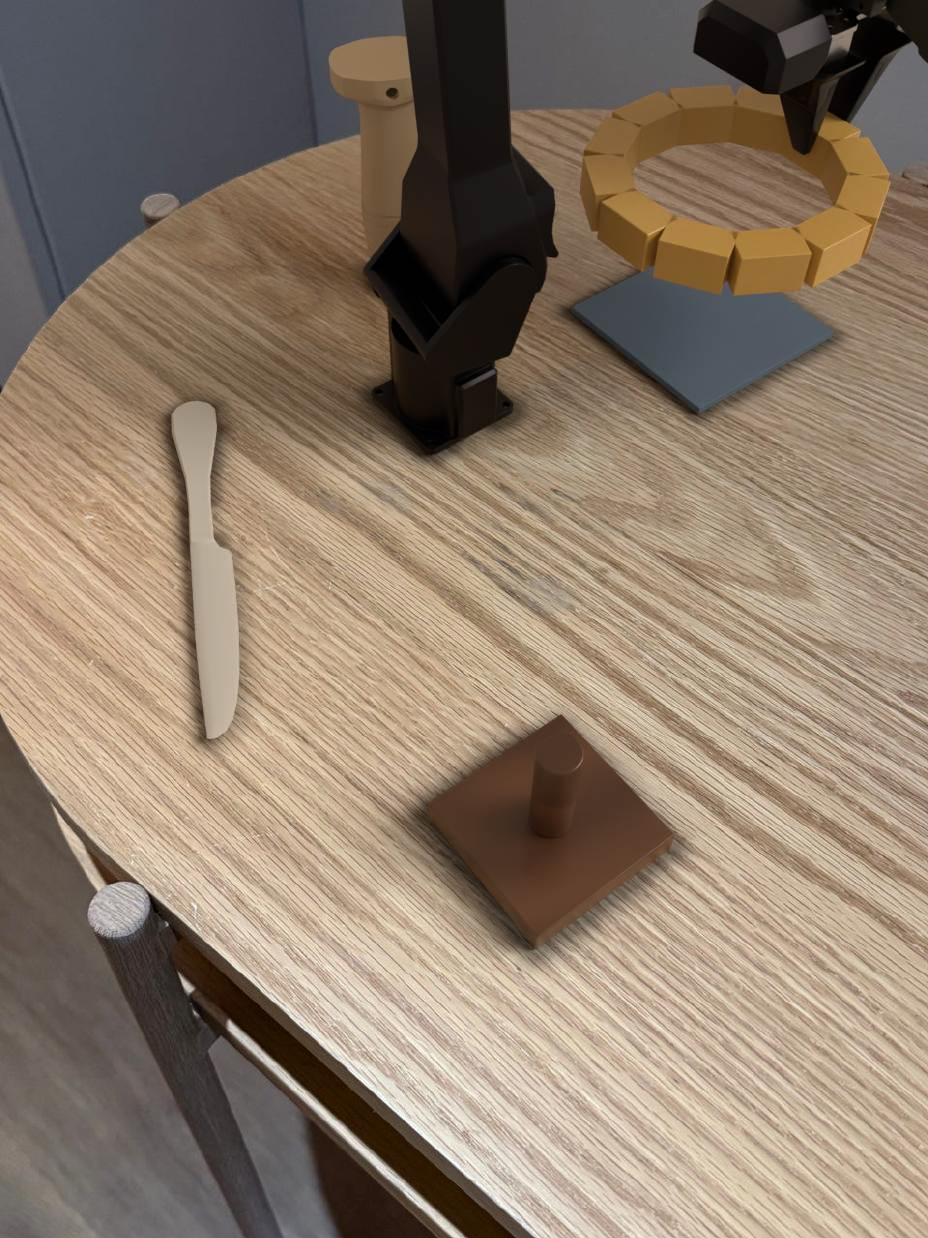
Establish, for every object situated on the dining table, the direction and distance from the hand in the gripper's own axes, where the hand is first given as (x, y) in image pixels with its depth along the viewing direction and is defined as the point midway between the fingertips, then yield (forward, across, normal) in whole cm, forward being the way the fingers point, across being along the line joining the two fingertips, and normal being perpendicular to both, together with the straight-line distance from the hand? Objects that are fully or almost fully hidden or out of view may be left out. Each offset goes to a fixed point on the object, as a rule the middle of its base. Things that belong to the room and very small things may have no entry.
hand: (816, 143), depth 68 cm
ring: (+1, -7, 0) cm, 7 cm away
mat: (+11, -7, 0) cm, 12 cm away
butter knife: (+11, -42, +2) cm, 43 cm away
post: (+10, -38, -22) cm, 45 cm away
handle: (+11, -20, +16) cm, 28 cm away
